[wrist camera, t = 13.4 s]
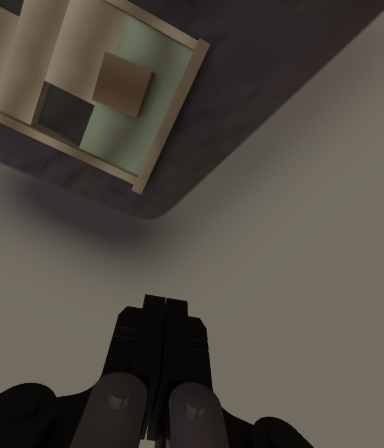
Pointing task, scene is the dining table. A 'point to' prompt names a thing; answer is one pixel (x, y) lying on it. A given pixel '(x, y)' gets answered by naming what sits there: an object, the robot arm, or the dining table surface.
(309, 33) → the dining table surface
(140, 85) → the walnut block
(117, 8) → the tray
